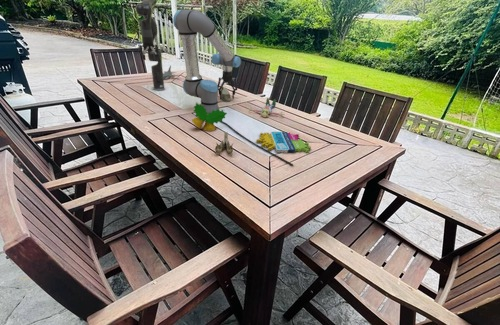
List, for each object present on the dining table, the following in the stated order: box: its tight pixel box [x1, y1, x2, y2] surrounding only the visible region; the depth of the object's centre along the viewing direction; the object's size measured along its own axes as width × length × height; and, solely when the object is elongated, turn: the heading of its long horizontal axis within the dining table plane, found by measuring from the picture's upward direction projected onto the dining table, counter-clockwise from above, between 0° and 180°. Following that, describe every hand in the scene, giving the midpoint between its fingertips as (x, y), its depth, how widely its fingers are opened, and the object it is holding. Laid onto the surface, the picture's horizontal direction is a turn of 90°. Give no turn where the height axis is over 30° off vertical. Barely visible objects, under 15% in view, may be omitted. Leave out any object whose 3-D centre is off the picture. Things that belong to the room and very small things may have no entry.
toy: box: [247, 97, 285, 118], centre depth 199 cm, size 28×7×30 cm
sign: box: [256, 131, 312, 154], centre depth 152 cm, size 26×2×30 cm
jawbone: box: [214, 131, 234, 156], centre depth 136 cm, size 9×15×10 cm
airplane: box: [163, 65, 181, 80], centre depth 275 cm, size 38×31×10 cm
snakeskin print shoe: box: [221, 86, 232, 103], centre depth 225 cm, size 8×25×9 cm, turn 13°
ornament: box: [191, 102, 228, 132], centre depth 162 cm, size 21×8×15 cm, turn 105°
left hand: (149, 59), depth 199 cm, fingers open, 8 cm apart
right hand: (226, 98), depth 219 cm, fingers open, 10 cm apart
